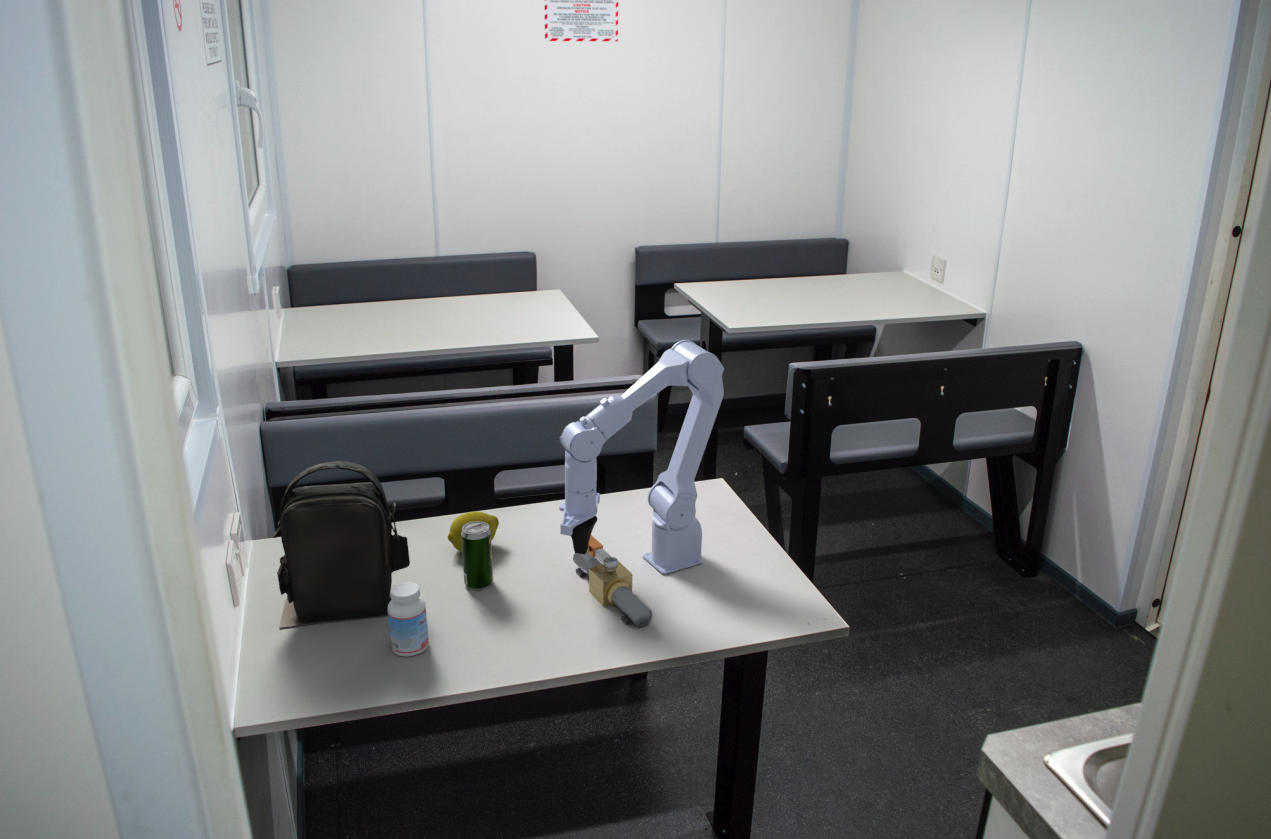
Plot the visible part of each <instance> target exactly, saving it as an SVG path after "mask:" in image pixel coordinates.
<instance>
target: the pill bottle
mask: <svg viewBox="0 0 1271 839" xmlns="http://www.w3.org/2000/svg"><path fill="white" fill-rule="evenodd" d="M420 590H421V589H420V586H419V584H417V583H416V582H413V581H403V582H399V583H396V584H395V585H393V586H391V591H390V593H391V599H392V600H391V601H390V602H389V604H388V616H387V617H388V618H387V619H388V627H389V635H390V646H391V650H392V652H393V653H394V654H395V655H397V656H400V657H412V656H416V655H419V654H421V653H423V652H424V651H426V649H427V648H428V647H429V644H430V641H429V631H428V630H429V629H428V619H427V618H428V617H427V607H426V602H425V599H424V598H423V597H422V596H421V591H420Z"/></svg>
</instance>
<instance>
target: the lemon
mask: <svg viewBox="0 0 1271 839" xmlns="http://www.w3.org/2000/svg"><path fill="white" fill-rule="evenodd" d="M477 521H479V522H484V523H487V524H488V525H489V529H490V531H491V542H492V541H493V539H494V538H495V536H496V533H497V530H498V528H499V525H500V521H499V518H498V517H497V516H496V515H493V514H489V513H487V512H483V511H469V512H464V513H462V514H460V515H459V516H457V517H455V518H454V520H453V521H452V523H451V525H450V527H449V533H448V535H447V539H448V541H449V542H450V543H451V544H452V546H453V548H454V549H456V550H457V551H459V552H460V553H462V541H461V532H462V527H463V526H464V525H465V524H467V523H470V522H477Z"/></svg>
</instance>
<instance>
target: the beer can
mask: <svg viewBox="0 0 1271 839" xmlns="http://www.w3.org/2000/svg"><path fill="white" fill-rule="evenodd" d="M461 541H462V552H461V554H462V568H463V582H464V585H465V588H467V589H468V590H469V591H471V592H481V591H485V590H488V589H489V588H491V587H492V584H493V582H494V572H493V552H492V551H493V550H492V549H493V548H492V541H491V531H490V529H489V525H488V524H487V523H484V522H479V521H477V522H470V523H467V524H465V525H464V526H463V527H462V532H461Z"/></svg>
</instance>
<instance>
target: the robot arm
mask: <svg viewBox="0 0 1271 839" xmlns="http://www.w3.org/2000/svg"><path fill="white" fill-rule="evenodd" d="M724 371H725V368H724V365H723V364H722V363H721V361H720V359H719V358H718V357H717V355H715V354H714V353H712V352H710V351H707V350H706V349H704V348H702V347H701V346H699V345H697V343H695V342H694V341H693V340H690V339H682V340H679V341H678V342H675V343H674V344H673V345H672V347H671V348H668V349H666V350H665V351H664V352H663V353H662V355H661V357H660V358H659V360H658V361H657V362H656V363H655V364H654V365H653V366H652V367H651V368H650V369H649V370H648V371H647V372H646V373H644V374H643V375H642V377H640V378H639V379H637V381H636V382H635V383H633V384H632V385H631V386H630V387H629V388H628V389H627V390H626V391H625V392H624V393H623V394H622V395H610V396H609V397H607V398H606V397H603V398H602V399H601V400H600V401H599V405H598V406H597V407H594V408H593V410H592V411H590V412H589V413H588V414H586V416H581V417H580V418H579V421H572V422H570V423H569V424H567V425H566V426H565V427H564V429H563V430H562V431H563V432H561V435H560V436H559V441H560V444H561V445H562V447H563V448H564V449H565V451H564V502H562V503H561V504H560V505H559V507H558V508H559V511H561V512H563V514H562V515H563V516H562V522H561V524H560V525H559V526H560V528H559V530H560V535H563V536H567V537H568V536H569V537H571V540H572V546H573V551H574V553H579V554H584V555H585V554H586V552H587V550H588V545H589V540H590V536H591V535H592V532H593V530H594V528H595V525H596V524H597V522H598V516H596V515H597V514H598V505H600V502H601V501H600V500H601V497H600V495H601V493H599V492H597V457H598V456H599V455H600V453H601V451H602V450H603V446H604V444H606V442H607V440H609V439H610V438H611V437H612V436H614V435H615V434H616V433H617V432H619V431H620V430H621V429H623V428H624V427H625V426H626V425H627V424H629V423H630V422H631V421H632V418H633V417H632V416H633V412H634V411H635V410H636V409H637V408H639V407H640V406H642V405H643V404H644V403H646V402H647V401H648V400H650V399H651V398H653V397H654V396H656V395H657V394H659V392H661V391H662V390H664V389H665V388H666V387H669V386H673V387H675V386H676V387H688V388H689V390H690V392H691V394H692V396H691V400H690V403H689V406H688V409H687V411H686V415H685V417H684V420H683V423H682V425H681V429H680V433H679V434H678V439H677V441H676V445H675V447H674V448H673V453H672V456H671V458H670V460H669V461H670V462H669V465H668V468H667V469H666V470H665V471H663V472H661V473H659V474H658V477H657V480H656V482H654V484H653V485H652V486H651V488H650V489H649V491H648V494H647V502H648V505H649V506H650V507H651V508H652V509H653V510H652V523H651V528H652V529H651V530H652V531H651V552H647V553H643V554H642V558H644V559H645V560H646V561H647V562H648V563H649V564H650V565H651V566H652V567H654V568H655V569H656V570H657V571H658V572H659V573H661V574H662V575H666V574H669V573H670V574H671V573H674V572H677V571H680V570H684V569H686V568H690V567H691V568H692V567H694V566H697V565H701V564H704V560H703V559H702V544H703V541H702V540H703V530H702V525H701V523H700V521H699V519H698V518H697V517H696V514H697V508H696V502H697V499H698V492H697V488H696V484H695V478H696V476H697V473H698V471H699V467H700V464H701V462H702V459H703V455H704V454H705V450H706V448H707V444H708V442H709V438H710V436H711V433H712V430H713V427H714V424H715V422H716V418H717V415H718V412H719V410H720V407H721V404H722V401H723V398H724V396H725V391H724V383H723V373H724Z"/></svg>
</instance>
